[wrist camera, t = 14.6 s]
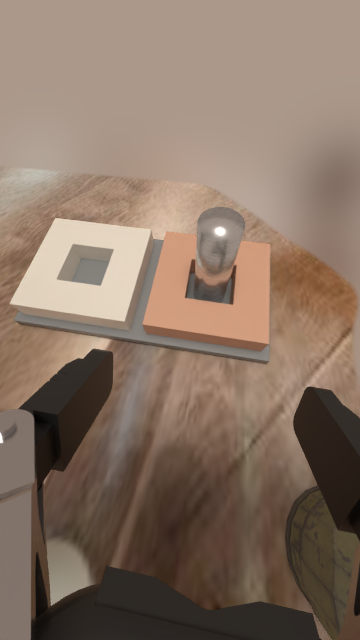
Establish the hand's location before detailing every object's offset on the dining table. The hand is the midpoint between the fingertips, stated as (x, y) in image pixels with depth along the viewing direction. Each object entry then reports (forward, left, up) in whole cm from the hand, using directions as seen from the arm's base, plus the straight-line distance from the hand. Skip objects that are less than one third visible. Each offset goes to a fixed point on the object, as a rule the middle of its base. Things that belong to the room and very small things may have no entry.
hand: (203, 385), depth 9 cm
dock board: (-7, +12, -14) cm, 20 cm away
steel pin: (0, +12, -13) cm, 18 cm away
